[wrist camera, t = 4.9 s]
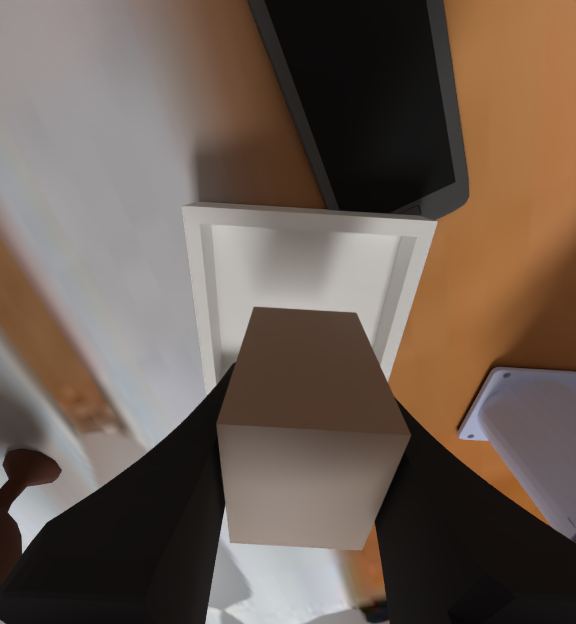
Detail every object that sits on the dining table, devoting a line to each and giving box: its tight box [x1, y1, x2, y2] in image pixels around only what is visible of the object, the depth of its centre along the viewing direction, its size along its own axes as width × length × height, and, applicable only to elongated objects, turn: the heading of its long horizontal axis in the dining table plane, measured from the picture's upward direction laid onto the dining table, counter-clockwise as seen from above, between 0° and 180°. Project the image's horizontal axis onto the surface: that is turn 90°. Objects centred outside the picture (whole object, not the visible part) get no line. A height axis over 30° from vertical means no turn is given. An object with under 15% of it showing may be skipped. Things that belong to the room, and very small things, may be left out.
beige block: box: [216, 307, 411, 550], centre depth 10 cm, size 4×6×6 cm
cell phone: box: [248, 0, 469, 220], centre depth 12 cm, size 7×14×1 cm, turn 26°
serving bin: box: [182, 202, 438, 394], centre depth 17 cm, size 13×13×2 cm
